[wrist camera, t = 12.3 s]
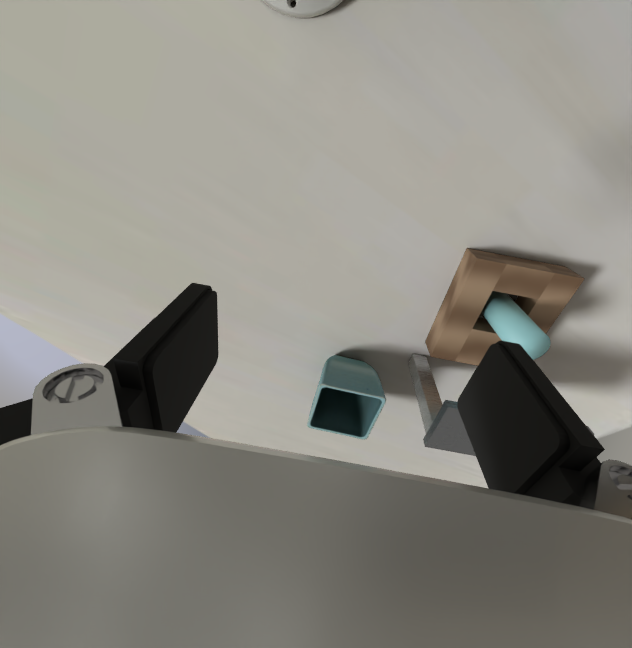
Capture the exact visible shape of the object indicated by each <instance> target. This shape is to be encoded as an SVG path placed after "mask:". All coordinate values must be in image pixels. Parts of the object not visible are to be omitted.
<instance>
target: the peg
mask: <svg viewBox="0 0 632 648" xmlns="http://www.w3.org/2000/svg"><path fill="white" fill-rule="evenodd" d="M481 313H482V314H483V315H484V317H485V318H486V320H487V321H488V322H489V324H490V325H491V326H492V328H493V329H494V331H495V332H496V333H497V335H498V336H499V337H500V339H501V340H502V341H507V342H512V343H517V344H520V345H521V346H522V347H523V348H524V350H525V351H526V352H527V353H528V355H529V356H530V357H531V358H532V360H534V359H536V358H539V357H541V356H542V355H543V354H545V353H546V352H547V350H548V349H549V347H550V339H549V337H548V336H547V335H546V334H545V333H544V332H543V331H542V330H541V329H540V328H539V327H538V326H537V325H536V324H535V323H534V322H533V320H532V319H531V318H530V317H529V316H528V315H527V314H526V313H525V312H524V311H523V310H522V309H521V308H520V307H519V306H518V305H517V304H516V303H515V302H514V301H513V300H512V299H511V298H510V297H509V296H508V295H507V294H506V293H502V292H497V291H492V293H491V295H490V297H489V298H488V300H487V302H486V304H485V306H484V308H483V310H482V311H481Z"/></svg>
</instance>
